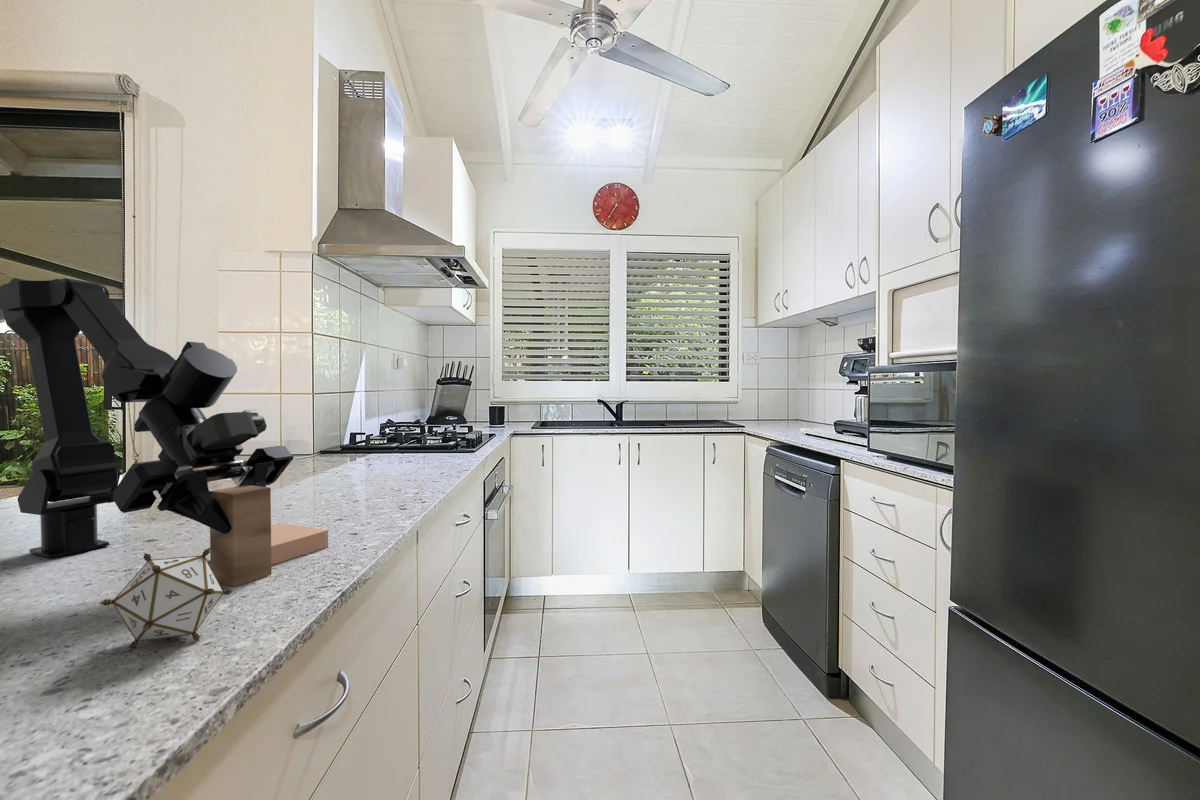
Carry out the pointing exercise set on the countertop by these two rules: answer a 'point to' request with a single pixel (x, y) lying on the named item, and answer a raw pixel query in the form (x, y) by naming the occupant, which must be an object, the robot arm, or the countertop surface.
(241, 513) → the walnut block
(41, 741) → the countertop surface
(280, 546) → the terracotta tile
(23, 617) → the countertop surface
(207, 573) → the game die
